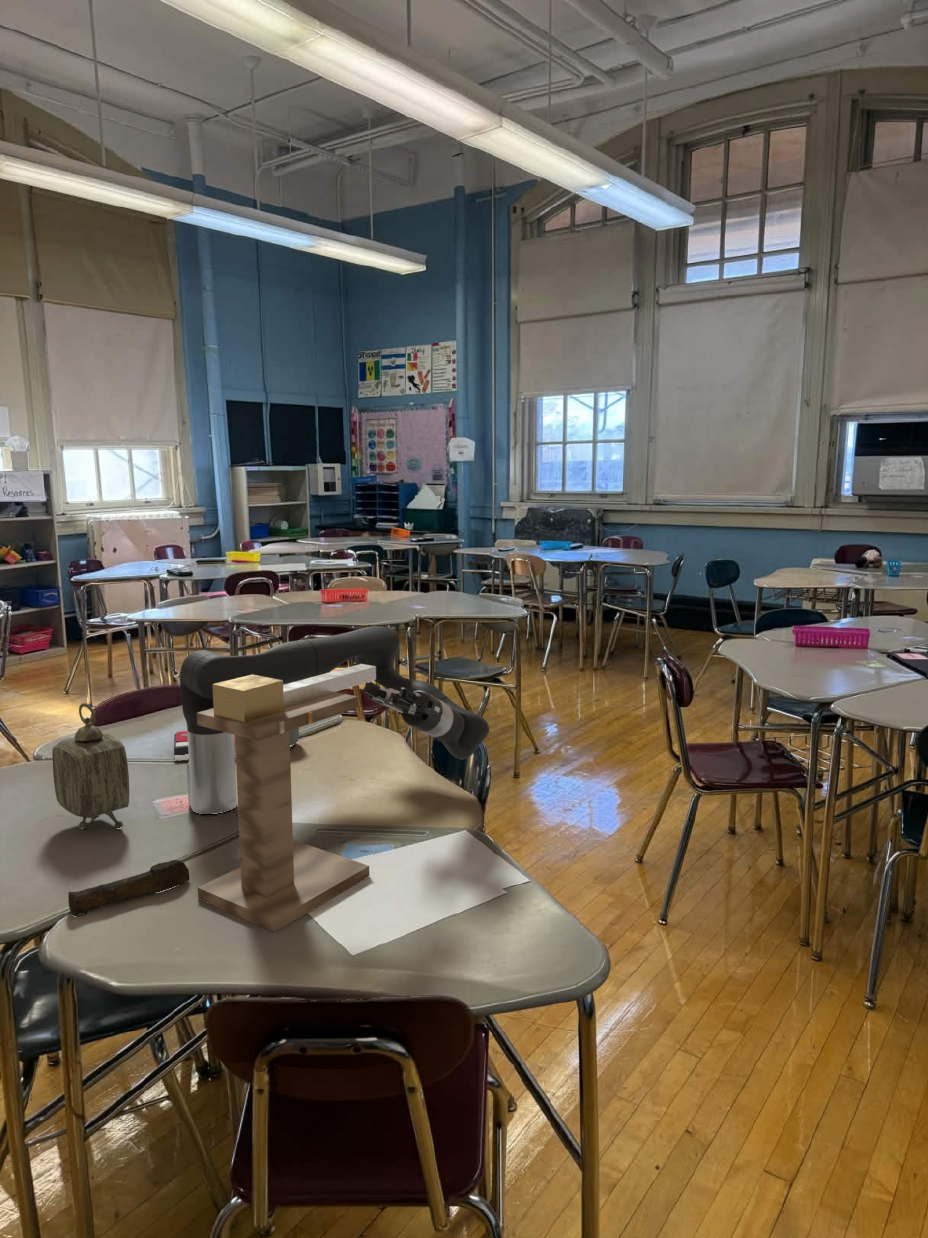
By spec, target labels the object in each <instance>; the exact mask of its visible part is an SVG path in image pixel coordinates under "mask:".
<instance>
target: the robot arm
mask: <svg viewBox="0 0 928 1238" xmlns="http://www.w3.org/2000/svg"><path fill="white" fill-rule="evenodd" d="M400 644H401V639H400V635H399V634H398V633H397V631H395V630H394V629H393V628H390V627H388V626H383V625H382V626H380V625H374V626H368V627H363V628H362V627H361V628H360V629H359V628H358V629H356V630H352V631H348V632H343V633H339V634H335V635H328V636H322V637H316V638H306V639H299V640H291V641H286V642H282V643H279V644H277V645H274V646H272V647H270V648H269V649H267V650H265V651H262V652H259V653H255V654H248V655H245V654H243V655H222V654H219V653H217V652H213V651H210V650H208V649H207V650H205V649H202V650H200V649H199V650H196V651H193V652H191V653H189V654H188V655H187V656H186V658H184V660H183V662H182V664H181V667H180V672H179V685H180V687H179V688H180V697H181V698H180V699H181V709H182V713H183V716H184V720H185V722H186V731H187V733H188V751H189V760H188V763H186V780H187V796H188V797H187V798H188V799H187V801H188V805H189V804H190V805H191V807H190V809H191V811H192V810H194V811H195V812H198V813H201V814H212V813H219V812H224V811H227V810H230V809H232V808H234V809H236V807H238V794H237V771H236V748H235V735H234V734H230V733H226V732H222V731H218V730H214V729H210V728H207V727H203V726H199V725H197V713H198V712H201V711H205V710H209V709H212V708H214V706H213V684H216V683H220V682H224V681H228V680H232V679H236V678H240V677H244V676H248V675H252V674H253V675H258V676H263V677H268V678H273V679H278V680H283V685H285V684H289V683H292V682H296V681H300V680H304V679H307V678H311V677H315V676H318V675H322V674H326V673H330V672H333V671H335V669H337V668H338V667H339V666H341V665H342V664H344V663H345V662H347V661H348V660H351V659H352V658H354V663H355V666H356V665H359V664H365V665H371V666H376V680H373V681H370V682H367V683H364V684H365V685H364V688H363V693H365V694H367V698H368V699H369V700H371V701H373V702H375V703H377V704H379V705H382V706H383V707H384V708H387V707H388V708H391V709H394V710H395V711H396V712H398V713H400V714H401V717H402V720H403V722H404V723H405V724H406V725H407V726H410V727H411V728H414V729H415V730H417V731H420V733H423V734H425V735H426V736H427V735H428V736H431V737H434V738H435V739H436V740H439V741H440V742H441V743H442V744H443V746H444V747H445V748H446V749H445V750H447V751H448V753H450V755H451V756H452V757H454V758H455V759H458V760H466V759H469V758H470V757H472V756H473V754H474V752H475V751H477V749H478V748H479V746H481V744H482V743H483V742H484V740H485V739H486V738H487V737H488V735H489V734H490V727H489V723H488V722H487V720H486V719H485V718H484V717H482V716H481V715H479V714H476V713H474V712H473V711H470V710H467V709H465V708H464V707H462V706H459V705H458V704H456V703H455V702H454V701H453V700H452V699H450V698H449V697H448V696H447V695H446V694H445V693H444V692H442V691H441V690H440V689H439V688H438V687H437V686H435V685H434V684H432V683H431V682H427V681H425V680H419V679H413V678H407V677H404V676H402V675H401V674H400V673H399V672H398V671H397V670H396V669H395V668H394V667H393V665H394V662H395V660H396V656H397V654H398V651H399V649H400ZM374 682H376V683H377V684H379V685H377V684H376V683H374ZM381 686H382V687H381ZM392 694H393V697H392Z"/></svg>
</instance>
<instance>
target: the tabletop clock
mask: <svg viewBox="0 0 928 1238" xmlns="http://www.w3.org/2000/svg"><path fill="white" fill-rule="evenodd" d="M83 708H87V709H88V710H89V711H90V713H91V714H92V715H91V716H92V719H93V720H92V721H91V718H90V717H88V716H87V717H86V718H85V717H84V716H83V714H82V710H83ZM78 715H79V717H80V720H81V722H82V723H83V724H84V726H82V727H80V728H78V729H77V731H76V732H75V734H74V737H70V738H66V739H62V740H61V741H59V742H58V743H57V744H55V746H53V747H52V752H51V753H52V756H51V757H52V771H53V772H52V774H53V775H52V776H53V783H54V784H53V785H54V793H55V797H56V801H57V802H58V804H59V805H60V806H61V807H62V808H63V809H64V810H66V811H67V812H68V813H70V814H71V815H74V816H76V817H82V821H81V822H79V824H78V828H79V827H80V828H84V827H87V828H88V826H89V825H88V822H87V819H91V818H93V817H97V816H101V815H106V816H107V817H109V818H110V819H111V820H112V822H113V823H114V825H113V826H114V829H116V828H120V827H122V826H123V827H124V823H123V821H121V820H117V818H116V816H115V815H114V813H113V812H114V811H118V810H119V811H120V810H122V809H125V808H128V807H129V804H130V776H129V765H128V758H127V751H126V748H125V745H124V744H123V743H122V741H120V740H119V739H118V738H117V737H115V736H113V735H111V734H109V733H106V732H103V731H102V730H101V729H100V728H99V727H98V726H95V724H96V722H97V721H96V720H97V718H96V717H97V716H96V713H95V711H94V708H93V707H92V706H91V705H90V704H89V703H87V702H86V703H85V702H83V703H81V704H79V706H78ZM123 827H122V828H123ZM80 828H79V829H80Z"/></svg>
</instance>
